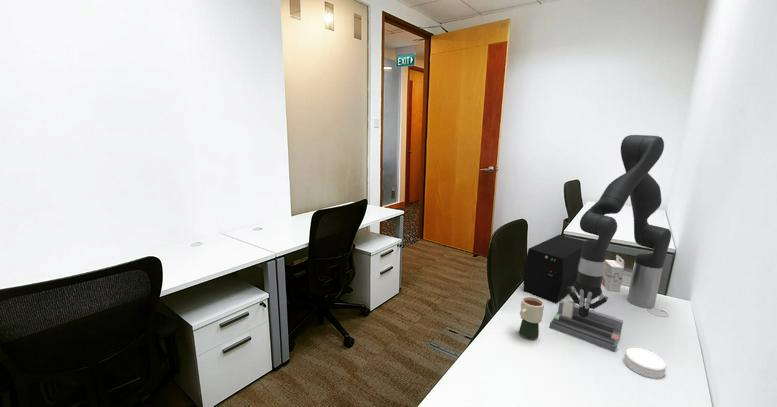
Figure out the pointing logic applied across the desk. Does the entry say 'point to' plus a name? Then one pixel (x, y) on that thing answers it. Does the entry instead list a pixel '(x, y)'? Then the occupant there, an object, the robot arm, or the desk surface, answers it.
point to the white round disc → (645, 362)
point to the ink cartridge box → (613, 274)
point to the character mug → (531, 316)
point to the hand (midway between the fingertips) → (582, 316)
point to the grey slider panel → (589, 327)
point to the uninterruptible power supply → (552, 267)
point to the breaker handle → (568, 308)
